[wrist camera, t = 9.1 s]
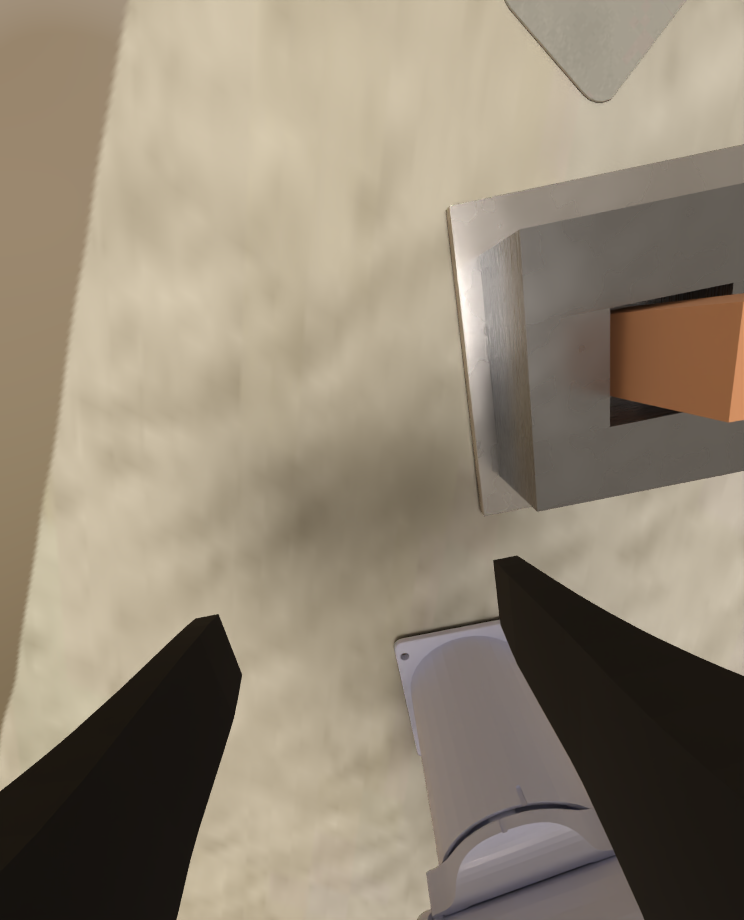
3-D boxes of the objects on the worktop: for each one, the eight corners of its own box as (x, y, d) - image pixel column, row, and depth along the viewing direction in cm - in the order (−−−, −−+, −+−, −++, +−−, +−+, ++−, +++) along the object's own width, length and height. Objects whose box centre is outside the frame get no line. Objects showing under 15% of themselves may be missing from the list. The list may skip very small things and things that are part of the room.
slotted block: (705, 466, 20) (805, 502, 16) (480, 511, 20) (516, 559, 16) (733, 150, 16) (881, 77, 11) (445, 210, 16) (481, 161, 11)
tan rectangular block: (630, 374, 18) (841, 401, 10) (566, 386, 18) (728, 422, 10) (632, 305, 17) (867, 278, 9) (565, 318, 17) (744, 301, 9)
